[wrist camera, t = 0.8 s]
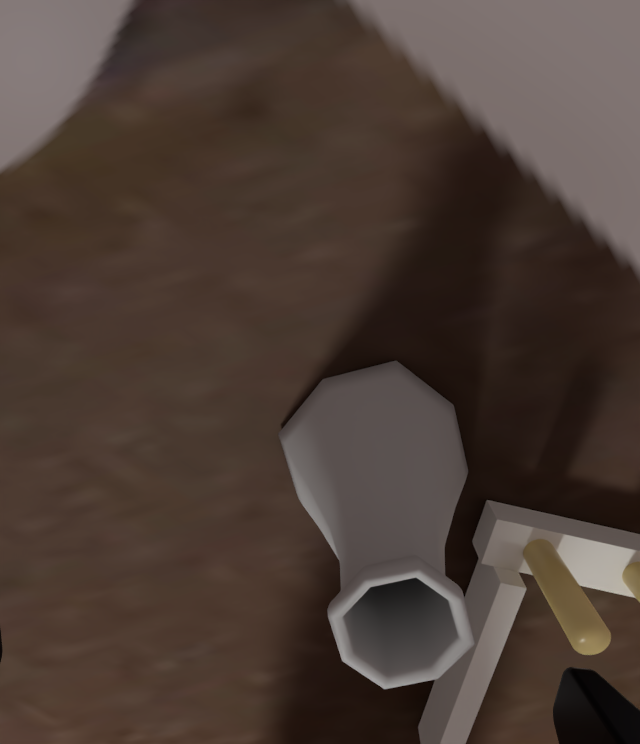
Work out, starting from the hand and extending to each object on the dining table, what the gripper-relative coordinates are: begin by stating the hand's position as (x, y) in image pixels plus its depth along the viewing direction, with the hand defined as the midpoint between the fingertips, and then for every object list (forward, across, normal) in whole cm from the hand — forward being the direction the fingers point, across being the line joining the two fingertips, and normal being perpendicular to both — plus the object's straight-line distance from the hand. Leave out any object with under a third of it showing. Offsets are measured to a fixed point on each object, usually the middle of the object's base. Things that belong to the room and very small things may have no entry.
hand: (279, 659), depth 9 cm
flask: (+13, -3, +2) cm, 14 cm away
